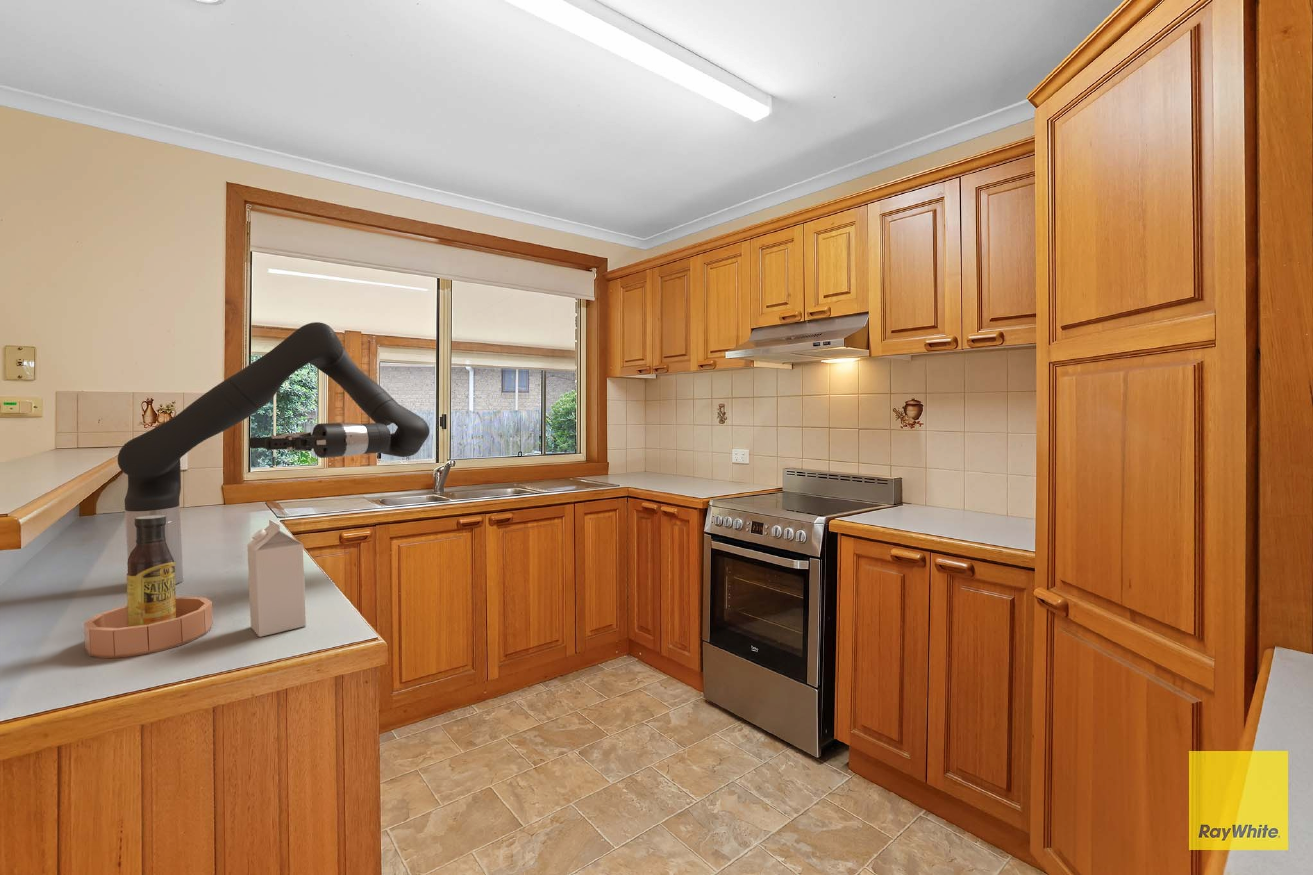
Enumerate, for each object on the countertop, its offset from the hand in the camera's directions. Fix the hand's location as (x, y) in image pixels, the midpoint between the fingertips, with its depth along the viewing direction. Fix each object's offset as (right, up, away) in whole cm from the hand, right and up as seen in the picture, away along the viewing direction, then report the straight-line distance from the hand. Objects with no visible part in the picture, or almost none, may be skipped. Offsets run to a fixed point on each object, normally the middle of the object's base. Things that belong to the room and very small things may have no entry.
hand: (257, 443), depth 118 cm
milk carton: (+13, -33, -13) cm, 38 cm away
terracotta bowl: (-6, -33, -18) cm, 38 cm away
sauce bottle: (-6, -32, -18) cm, 37 cm away
